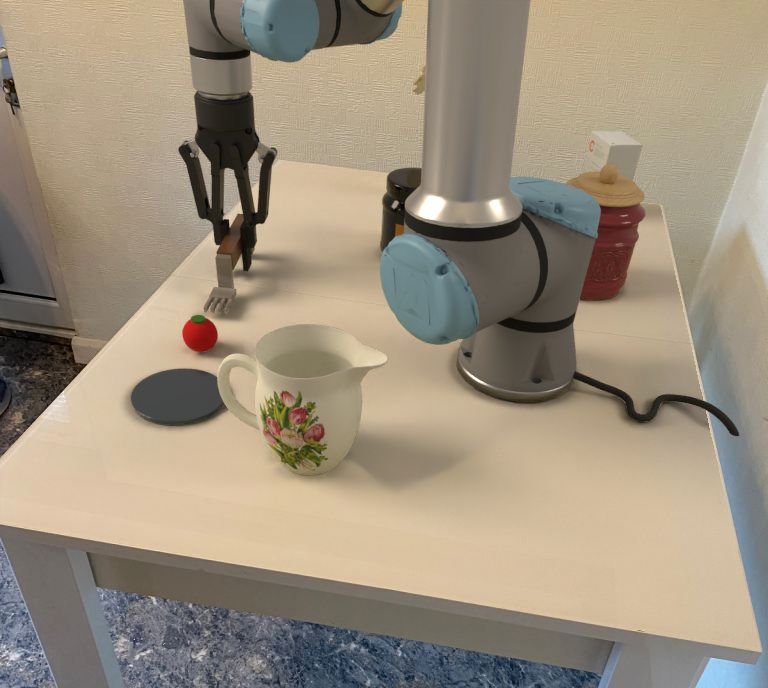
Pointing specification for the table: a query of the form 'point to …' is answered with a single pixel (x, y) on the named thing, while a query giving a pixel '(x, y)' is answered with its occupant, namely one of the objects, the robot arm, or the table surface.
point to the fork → (226, 269)
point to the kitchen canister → (611, 229)
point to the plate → (177, 397)
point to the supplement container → (397, 202)
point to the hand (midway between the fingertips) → (237, 266)
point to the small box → (612, 152)
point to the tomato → (200, 334)
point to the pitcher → (304, 393)
